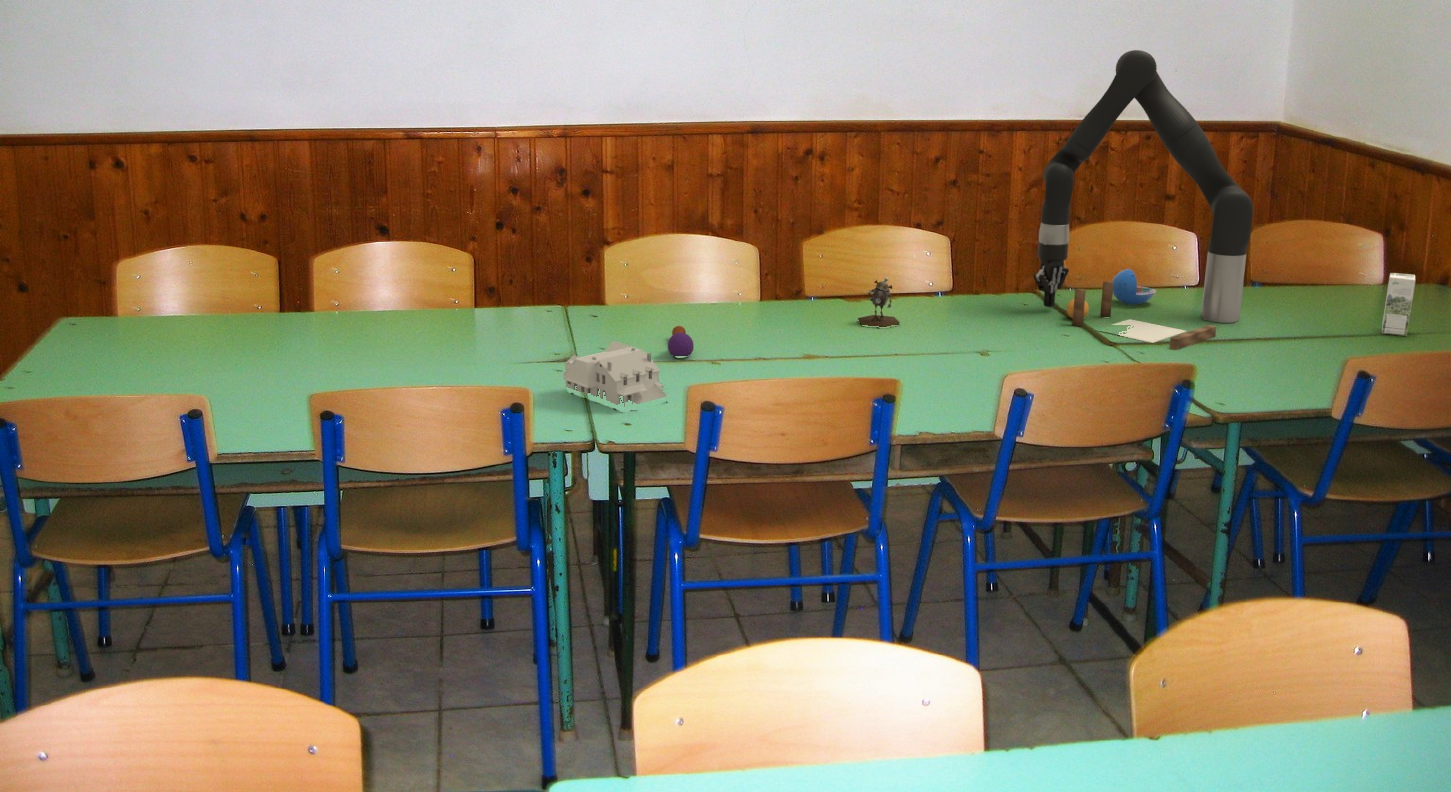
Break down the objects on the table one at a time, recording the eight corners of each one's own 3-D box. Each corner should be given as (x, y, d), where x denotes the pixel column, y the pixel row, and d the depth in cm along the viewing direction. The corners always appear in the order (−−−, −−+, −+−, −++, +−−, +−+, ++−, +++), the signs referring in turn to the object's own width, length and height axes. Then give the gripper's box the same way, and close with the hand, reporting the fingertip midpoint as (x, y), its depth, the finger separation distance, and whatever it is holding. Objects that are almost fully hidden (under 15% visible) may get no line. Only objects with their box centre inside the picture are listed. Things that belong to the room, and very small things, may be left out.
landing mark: (1129, 319, 353) (1129, 319, 353) (1187, 331, 342) (1187, 330, 342) (1094, 330, 343) (1094, 329, 343) (1152, 343, 332) (1152, 342, 332)
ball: (1095, 316, 352) (1080, 321, 356) (1091, 295, 352) (1075, 300, 357) (1079, 317, 349) (1064, 322, 354) (1075, 296, 349) (1060, 301, 354)
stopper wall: (1207, 334, 339) (1208, 324, 339) (1215, 336, 338) (1216, 326, 337) (1169, 348, 328) (1170, 337, 327) (1177, 349, 326) (1178, 339, 325)
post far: (1103, 315, 358) (1106, 280, 355) (1112, 316, 356) (1115, 282, 354) (1098, 316, 356) (1101, 282, 354) (1106, 318, 355) (1109, 284, 352)
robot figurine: (851, 325, 347) (852, 278, 344) (862, 317, 355) (863, 271, 352) (894, 330, 343) (896, 282, 340) (904, 321, 351) (906, 275, 348)
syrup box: (1406, 331, 343) (1415, 273, 339) (1406, 336, 338) (1415, 278, 334) (1381, 328, 346) (1389, 271, 341) (1381, 334, 340) (1389, 276, 336)
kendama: (693, 322, 334) (696, 337, 315) (688, 346, 335) (691, 363, 316) (668, 318, 334) (670, 333, 314) (664, 342, 335) (665, 358, 315)
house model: (617, 417, 277) (616, 370, 274) (558, 395, 291) (556, 350, 288) (688, 398, 289) (688, 353, 286) (628, 378, 303) (627, 334, 301)
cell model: (1161, 307, 366) (1165, 272, 363) (1119, 309, 364) (1122, 273, 361) (1144, 299, 376) (1147, 264, 373) (1102, 300, 374) (1105, 265, 371)
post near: (1076, 323, 350) (1078, 288, 347) (1084, 325, 348) (1087, 290, 345) (1070, 324, 348) (1072, 289, 345) (1079, 326, 346) (1081, 291, 344)
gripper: (1056, 235, 363) (1051, 299, 368) (1026, 241, 354) (1021, 307, 359) (1080, 239, 357) (1075, 304, 363) (1051, 245, 349) (1046, 313, 354)
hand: (1048, 306), depth 361 cm, fingers closed
